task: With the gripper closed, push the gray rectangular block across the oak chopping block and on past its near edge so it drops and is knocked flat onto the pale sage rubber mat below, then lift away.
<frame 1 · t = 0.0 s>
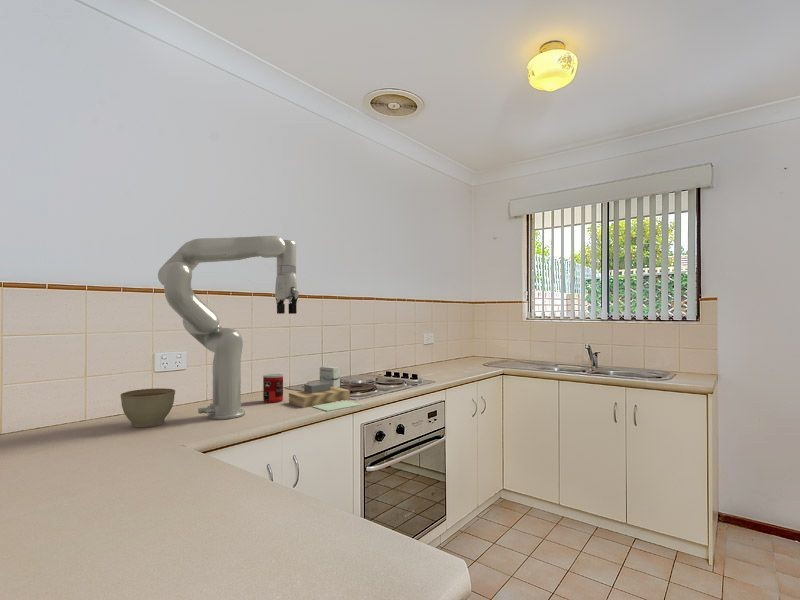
hand: (286, 313, 178), 37 cm above the countertop, tool pointing down, fingers open, 9 cm apart
oak block: (319, 401, 185), on the countertop
canned food: (273, 401, 186), on the countertop
planter bowl: (148, 425, 150), on the countertop
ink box: (329, 393, 205), on the countertop
gray rectangular block: (317, 387, 187), point 5 cm above the countertop, touching oak block
sage mat: (336, 405, 176), on the countertop
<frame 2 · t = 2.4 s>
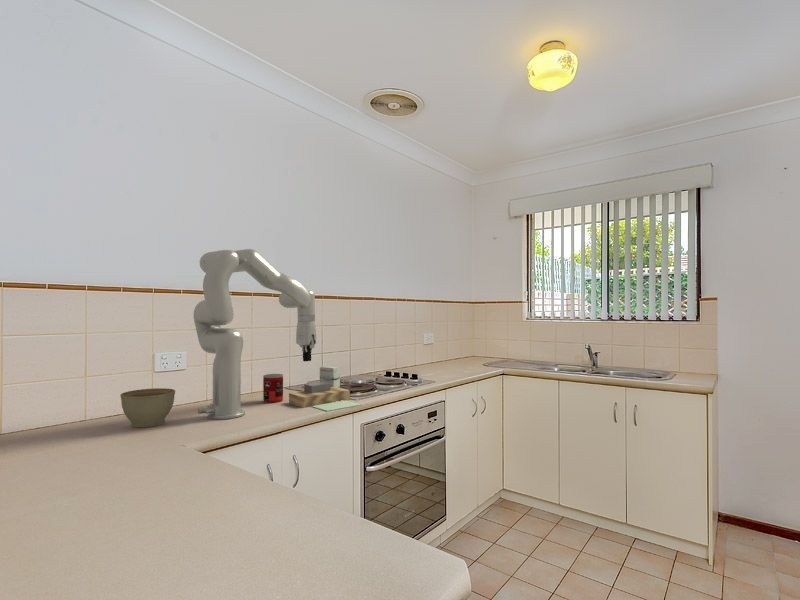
hand: (307, 360, 194), 16 cm above the countertop, tool pointing down, fingers closed
nothing on the countertop moved.
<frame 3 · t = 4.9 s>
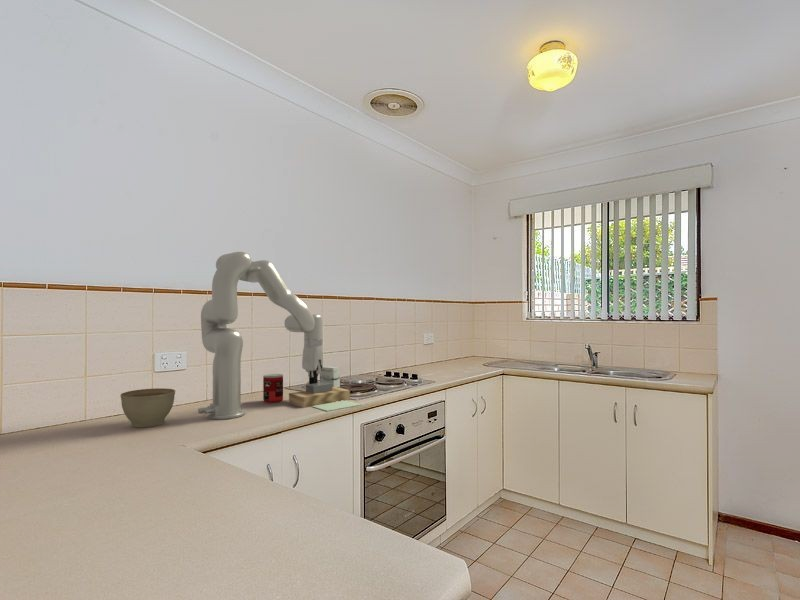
hand: (313, 386, 190), 6 cm above the countertop, tool pointing down, fingers closed
gray rectangular block: (319, 387, 186), point 6 cm above the countertop, touching gripper
everything else where it was.
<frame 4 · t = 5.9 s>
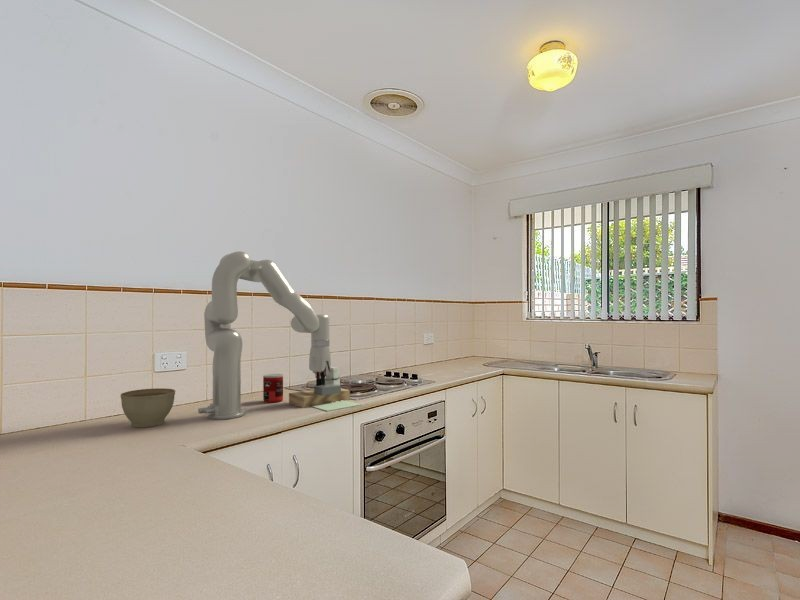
hand: (320, 387, 185), 6 cm above the countertop, tool pointing down, fingers closed
gray rectangular block: (327, 389, 182), point 6 cm above the countertop
everything else where it was.
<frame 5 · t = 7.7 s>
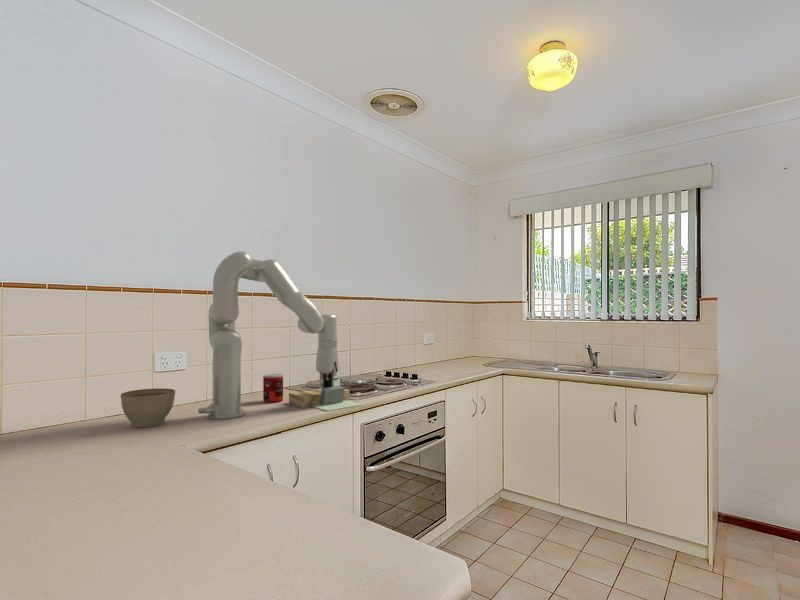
hand: (327, 389, 181), 6 cm above the countertop, tool pointing down, fingers closed
gray rectangular block: (332, 395, 180), point 4 cm above the countertop, tilted 102°, touching gripper, sage mat
everything else where it was.
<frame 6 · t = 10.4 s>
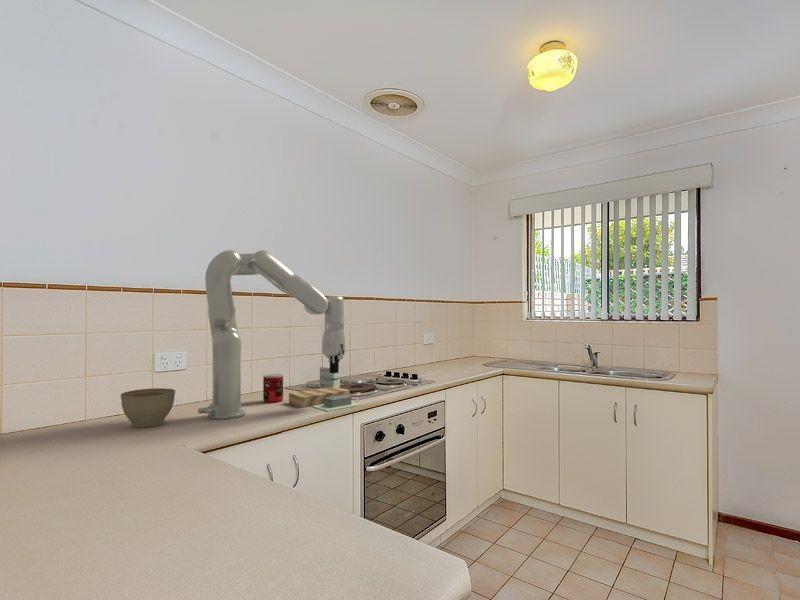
hand: (334, 372, 178), 13 cm above the countertop, tool pointing down, fingers closed
gray rectangular block: (337, 401, 177), point 2 cm above the countertop, tilted 180°, touching sage mat
everything else where it was.
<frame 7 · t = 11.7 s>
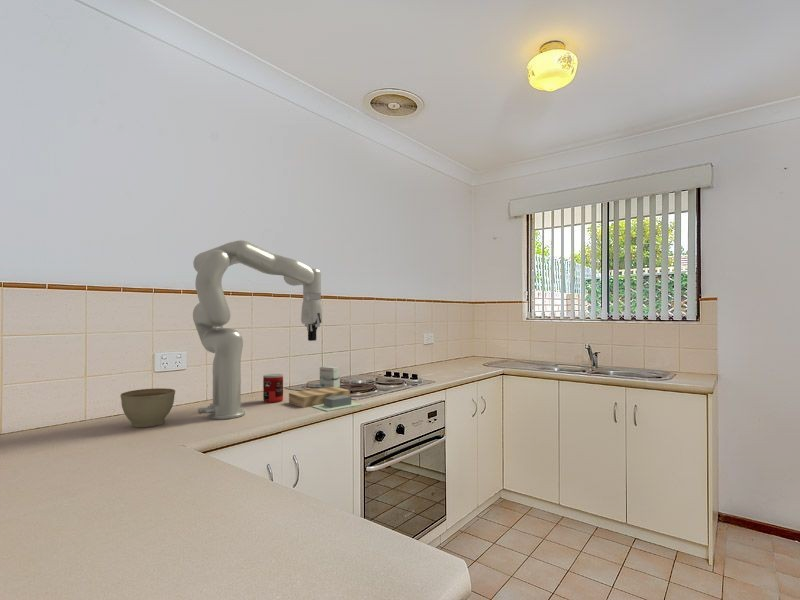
hand: (312, 340, 190), 25 cm above the countertop, tool pointing down, fingers closed
nothing on the countertop moved.
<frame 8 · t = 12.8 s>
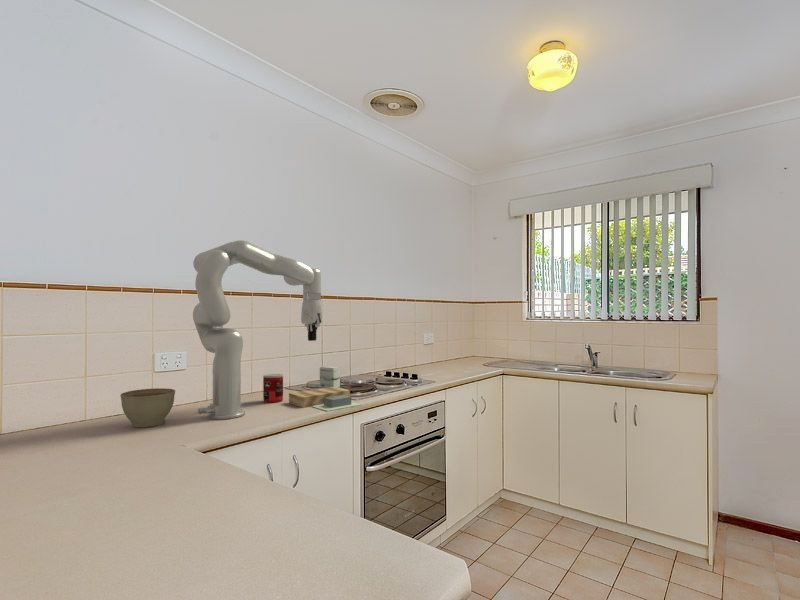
hand: (312, 340, 190), 25 cm above the countertop, tool pointing down, fingers closed
nothing on the countertop moved.
at the end: gray rectangular block point 1.8 cm above the countertop; gray rectangular block inside the target area on the sage mat (0.6 cm from its centre), point 1.8 cm above the sage mat's base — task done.
